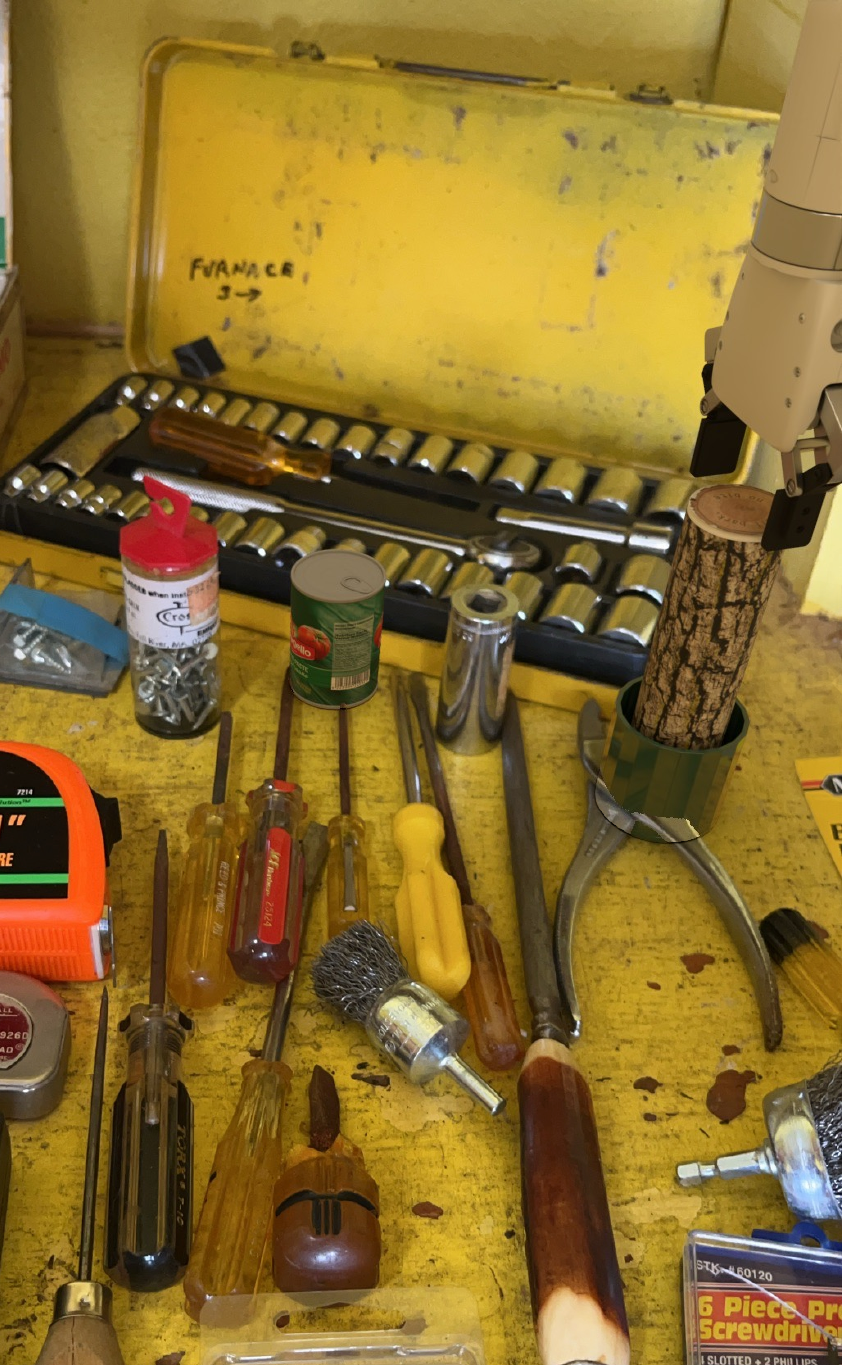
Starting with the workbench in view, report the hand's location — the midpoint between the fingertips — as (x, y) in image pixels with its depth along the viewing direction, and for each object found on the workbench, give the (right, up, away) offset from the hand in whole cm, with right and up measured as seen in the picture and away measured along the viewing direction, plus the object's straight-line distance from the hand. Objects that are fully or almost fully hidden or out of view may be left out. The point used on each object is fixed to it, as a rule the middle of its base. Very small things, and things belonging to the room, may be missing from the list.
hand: (746, 508), depth 82 cm
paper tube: (-1, -18, +18) cm, 25 cm away
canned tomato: (-26, -7, +29) cm, 40 cm away
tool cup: (-1, -18, +18) cm, 26 cm away
